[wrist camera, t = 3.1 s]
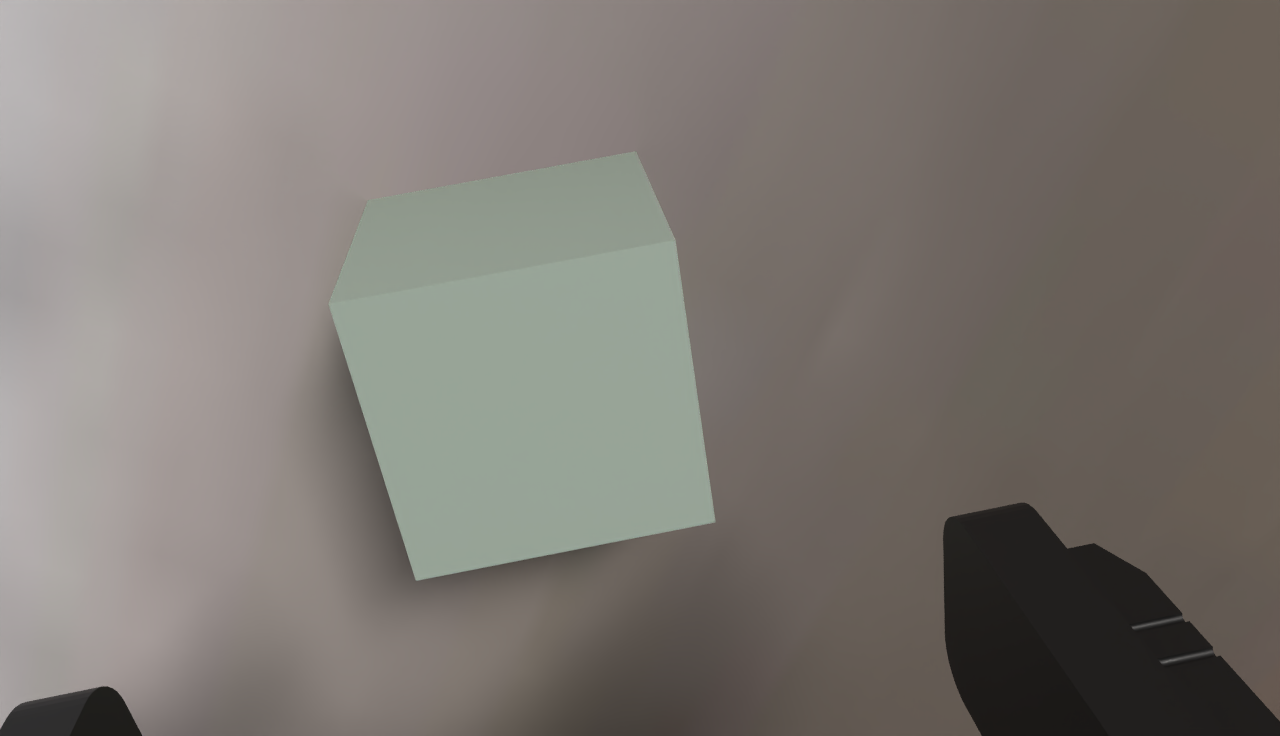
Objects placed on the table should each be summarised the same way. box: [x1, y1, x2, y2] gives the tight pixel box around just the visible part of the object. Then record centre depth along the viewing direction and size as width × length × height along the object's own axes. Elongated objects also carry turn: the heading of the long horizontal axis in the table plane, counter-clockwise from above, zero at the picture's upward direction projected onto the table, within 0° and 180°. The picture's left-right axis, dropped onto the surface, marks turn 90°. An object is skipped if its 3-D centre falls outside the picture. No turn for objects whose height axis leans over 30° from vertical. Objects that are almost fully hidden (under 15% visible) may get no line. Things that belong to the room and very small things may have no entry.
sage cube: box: [329, 151, 715, 581], centre depth 16 cm, size 4×4×4 cm
